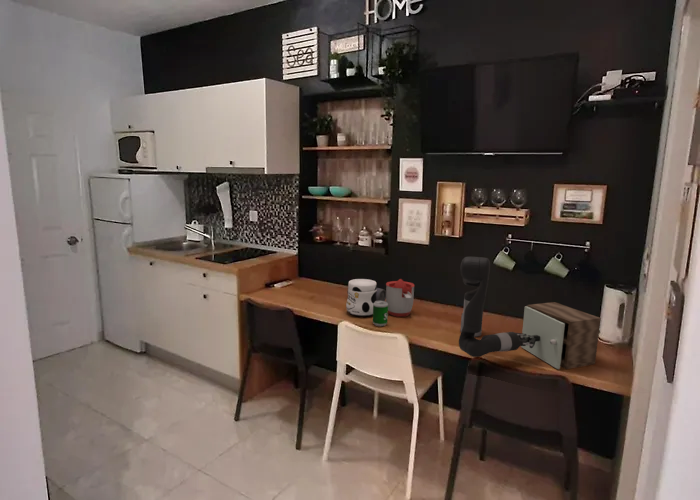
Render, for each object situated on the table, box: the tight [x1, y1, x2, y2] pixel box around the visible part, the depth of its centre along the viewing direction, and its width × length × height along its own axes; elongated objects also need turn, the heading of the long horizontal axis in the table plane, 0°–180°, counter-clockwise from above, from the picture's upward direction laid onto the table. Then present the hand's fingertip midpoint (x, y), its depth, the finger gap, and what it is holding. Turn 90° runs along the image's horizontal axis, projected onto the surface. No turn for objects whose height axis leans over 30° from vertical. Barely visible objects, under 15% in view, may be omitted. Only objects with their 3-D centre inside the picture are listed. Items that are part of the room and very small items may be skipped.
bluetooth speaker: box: [347, 287, 386, 301], centre depth 265 cm, size 23×9×10 cm, turn 55°
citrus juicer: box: [385, 278, 416, 318], centre depth 242 cm, size 16×17×20 cm
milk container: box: [345, 278, 378, 317], centre depth 242 cm, size 17×17×18 cm
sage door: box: [520, 305, 565, 370], centre depth 187 cm, size 3×24×19 cm, turn 15°
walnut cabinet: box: [526, 301, 602, 370], centre depth 190 cm, size 16×24×20 cm, turn 21°
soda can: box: [372, 300, 389, 327], centre depth 225 cm, size 8×8×12 cm
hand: (538, 337), depth 187 cm, fingers closed
